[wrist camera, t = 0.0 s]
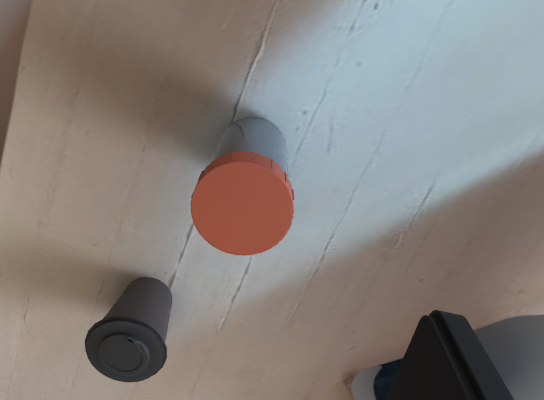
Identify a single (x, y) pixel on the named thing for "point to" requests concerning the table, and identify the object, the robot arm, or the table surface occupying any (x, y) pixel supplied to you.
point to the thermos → (254, 140)
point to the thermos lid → (243, 203)
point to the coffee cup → (132, 333)
